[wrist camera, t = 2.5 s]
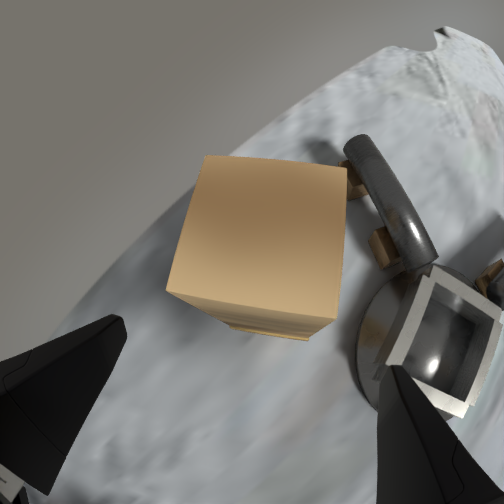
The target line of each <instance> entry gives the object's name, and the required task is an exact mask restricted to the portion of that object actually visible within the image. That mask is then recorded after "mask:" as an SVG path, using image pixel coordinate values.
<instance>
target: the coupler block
mask: <svg viewBox="0 0 504 504" xmlns="http://www.w3.org/2000/svg"><path fill="white" fill-rule="evenodd" d="M346 195H347V168H342V167H335V166H328V165H321V164H313V163H304V162H295V161H286V160H275V159H264V158H250V157H234V156H213V155H206V156H205V159H204V162H203V164H202V167H201V170H200V174H199V176H198V179H197V182H196V186H195V189H194V192H193V195H192V198H191V201H190V205H189V208H188V211H187V214H186V218H185V221H184V224H183V228H182V231H181V235H180V238H179V242H178V245H177V249H176V253H175V256H174V260H173V264H172V268H171V271H170V275H169V279H168V283H167V287H166V291H167V292H169V293H171V294H172V295H174V296H176V297H178V298H180V299H181V300H183V301H185V302H187V303H189V304H190V305H192V306H194V307H196V308H198V309H200V310H201V311H203V312H205V313H207V314H209V315H211V316H213V317H215V318H217V319H218V320H220V321H222V322H224V323H226V324H228V325H230V327H229V328H231V329H235V330H241V331H246V332H252V333H258V334H264V335H270V336H276V337H282V338H289V339H296V340H303V341H309V337H310V336H312V335H313V334H315V333H316V332H318V331H319V330H321V329H322V328H324V327H325V326H327V325H328V324H330V323H331V322H333V321H334V320H336V319H337V313H338V304H339V296H340V286H341V276H342V265H343V253H344V238H345V221H346Z"/></svg>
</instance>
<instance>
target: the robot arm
mask: <svg viewBox="0 0 504 504" xmlns="http://www.w3.org/2000/svg"><path fill="white" fill-rule="evenodd" d="M126 340H127V331H126V328H125V324H124V321H123V318H122V317H121V316H117V315H114V314H111V315H108V316H106V317H104V318H101V319H99V320H97V321H95V322H92V323H90V324H88V325H86V326H83V327H81V328H79V329H77V330H74V331H72V332H70V333H67V334H65V335H63V336H61V337H58V338H56V339H54V340H52V341H49V342H47V343H45V344H42V345H40V346H38V347H36V348H34V349H33V350H32V349H31V350H29V351H27V352H24V353H22V354H20V355H17V356H15V357H12V358H9V359H6V360H4V361H1V362H0V504H29V502H28V497H27V493H26V489H25V487H24V486H23V485H24V483H25V482H26V483H28V484H29V485H31V486H32V487H34V488H35V489H37V490H38V491H40V492H42V493H43V494H45V495H47V496H48V495H49V493H50V491H51V489H52V487H53V484H54V482H55V480H56V478H57V476H58V474H59V472H60V469H61V467H62V465H63V463H64V461H65V459H66V456H67V455H68V453H69V451H70V449H71V447H72V445H73V443H74V441H75V439H76V437H77V435H78V433H79V431H80V429H81V427H82V425H83V424H84V422H85V420H86V418H87V416H88V414H89V412H90V410H91V409H92V407H93V405H94V403H95V401H96V400H97V398H98V396H99V394H100V392H101V391H102V389H103V387H104V385H105V384H106V382H107V380H108V378H109V377H110V375H111V373H112V371H113V369H114V366H115V364H116V362H117V360H118V357H119V355H120V353H121V351H122V349H123V346H124V344H125V342H126ZM377 454H378V468H377V500H376V504H504V492H503V491H502V490H501V489H500V488H499V487H498V486H497V485H496V484H495V483H494V482H493V481H492V480H491V478H490V477H489V476H488V475H487V474H486V473H485V472H484V470H483V469H482V468H481V467H480V466H479V465H478V463H477V462H476V461H475V460H474V459H473V458H472V456H471V455H470V454H469V452H468V451H467V450H466V448H465V447H464V446H463V444H462V443H461V441H460V440H458V437H457V436H456V435H455V433H454V432H453V431H452V429H451V428H450V427H449V425H448V424H447V423H446V421H445V420H444V419H443V417H442V416H441V415H440V413H439V412H438V411H437V409H436V408H435V407H434V405H433V404H432V403H431V401H430V400H429V399H428V398H427V396H426V395H425V394H424V392H423V391H422V390H421V389H420V387H419V386H418V385H417V384H416V382H415V381H414V380H413V378H412V377H411V376H410V375H409V373H408V372H407V371H406V370H405V368H404V367H403V366H401V365H390V366H389V367H388V368H387V370H386V372H385V374H384V376H383V378H382V379H381V382H380V386H379V404H378V419H377Z"/></svg>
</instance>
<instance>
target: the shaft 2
mask: <svg viewBox="0 0 504 504" xmlns="http://www.w3.org/2000/svg"><path fill="white" fill-rule="evenodd" d="M475 283H476V285H477V286H478V288H479V290H480V292H481V294H482V296H484V297H485V298H487V299H488V300H490V301H491V302H492V303H494V304H495V305H497V306H498V307H500V308H501V309H502V311H504V263H503V261H502V259H500V260H498V261H497V262H495V263H493V264H492V265H490V266H488V267H487V268H486V270H485V271H484V272H483V273H482V274H481V275H480V276H479V277H478V278H477V279H476V280H475Z"/></svg>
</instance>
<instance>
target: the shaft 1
mask: <svg viewBox="0 0 504 504" xmlns="http://www.w3.org/2000/svg"><path fill="white" fill-rule="evenodd" d="M343 152H344V154H345V155H346V157H347V158H348V160H346V161H342V162H338V167H342V168H347V195H346V198H347V200H348V201H349V200H353V199H356V198H359V197H362V196H365V195H368V194H369V196H370V198H371V199H372V201H373V203H374V205H375V207H376V209H377V211H378V213H379V214H380V216H381V218H382V220H383V222H384V224H385V226H384V227H382V228H379V229H376V230H375V231H374V232H373V234H372V235H371V237H370V239H369V240H368V242H369V244H370V246H371V249H372V251H373V253H374V255H375V257H376V260H377V262H378V264H379V267H380V269H381V270H382V269H385V268H387V267H390V266H392V265H394V264H397V263H399V262H401V261H402V262H403V264H404V266H405V269H406V271H407V273H408V274H409V273H412V272H414V271H417V270H419V269H421V268H423V267H424V266H426V265H428V264H430V263H431V262H433V261H434V260H436V259H437V258H438V257H439V256H438V254H437V252H436V249H435V247H434V245H433V243H432V241H431V239H430V237H429V235H428V233H427V231H426V229H425V227H424V225H423V223H422V221H421V219H420V217H419V216H418V214H417V212H416V210H415V208H414V206H413V205H412V203H411V201H410V199H409V198H408V196H407V194H406V192H405V191H404V189H403V187H402V186H401V184H400V182H399V181H398V179H397V178H396V176H395V174H394V173H393V171H392V170H391V168H390V166H389V165H388V163H387V162H386V160H385V159H384V157H383V156H382V154H381V153H380V151H379V150H378V148H377V147H376V146H375V144H374V143H373V141H372V140H371V138H370V137H369V136H368V135H365V134H361V135H357V136H355V137H353V138H351V139H350V140H349V141H348V142H347V143H346V144H345V146H344V148H343Z"/></svg>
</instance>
